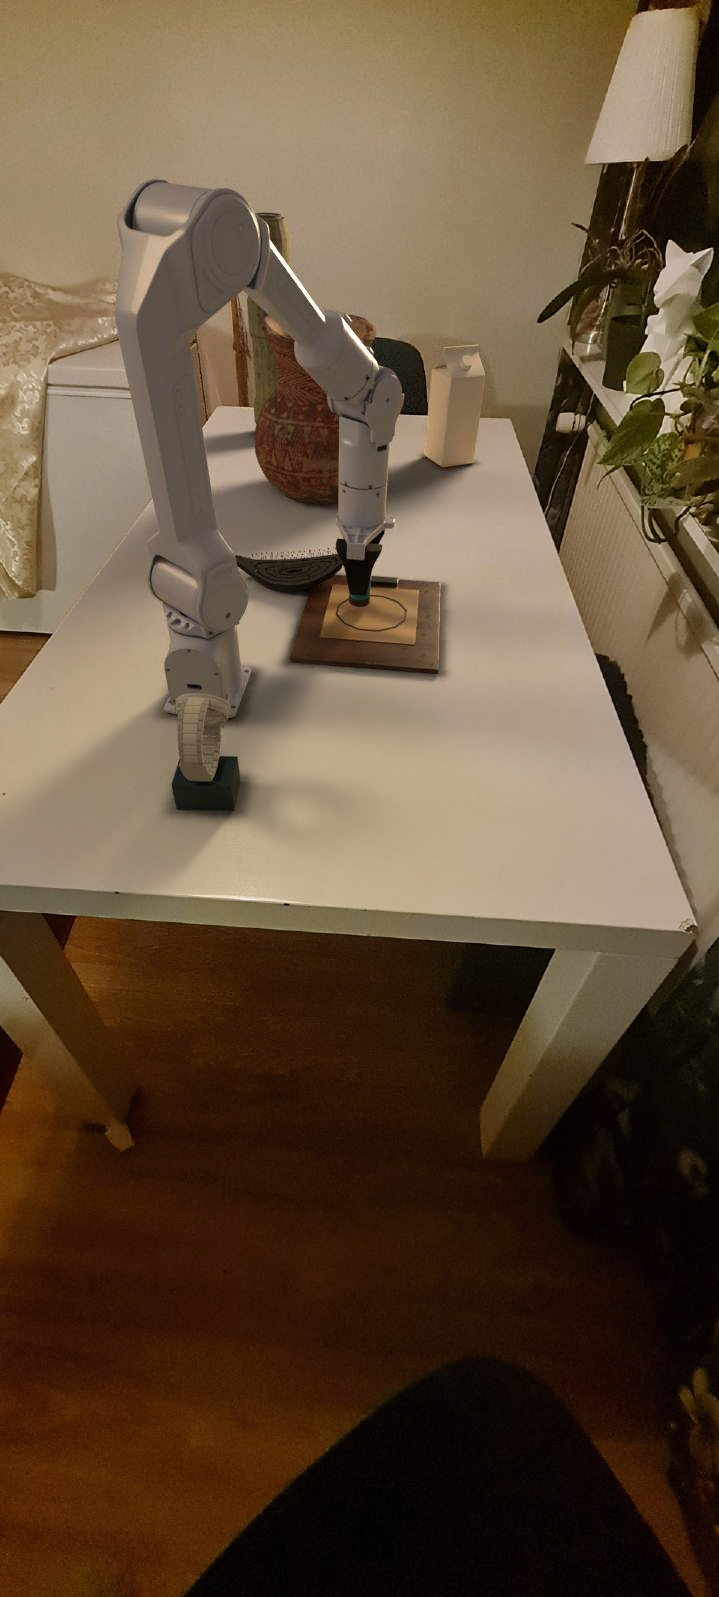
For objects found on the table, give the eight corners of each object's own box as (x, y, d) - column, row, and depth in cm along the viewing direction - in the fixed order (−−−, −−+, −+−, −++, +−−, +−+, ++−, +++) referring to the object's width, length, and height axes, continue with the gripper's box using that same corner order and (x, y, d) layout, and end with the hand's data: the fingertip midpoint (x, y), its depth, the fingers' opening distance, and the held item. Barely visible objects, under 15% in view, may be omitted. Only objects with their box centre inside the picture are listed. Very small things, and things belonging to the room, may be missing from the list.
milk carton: (423, 455, 138) (433, 342, 125) (455, 451, 141) (468, 340, 127) (441, 468, 134) (454, 352, 121) (473, 463, 136) (489, 349, 123)
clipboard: (437, 673, 85) (438, 665, 84) (289, 661, 86) (289, 653, 85) (440, 585, 100) (441, 578, 100) (314, 576, 101) (314, 568, 100)
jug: (367, 519, 116) (374, 342, 98) (243, 507, 118) (228, 331, 100) (384, 471, 132) (393, 311, 114) (275, 461, 134) (267, 302, 116)
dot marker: (369, 608, 92) (372, 557, 87) (346, 606, 92) (348, 555, 88) (371, 597, 94) (374, 546, 90) (349, 595, 95) (350, 544, 90)
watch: (243, 767, 72) (232, 676, 64) (231, 824, 66) (218, 732, 58) (187, 765, 72) (171, 674, 64) (171, 822, 66) (150, 730, 58)
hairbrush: (177, 538, 103) (347, 539, 99) (183, 562, 105) (349, 564, 102) (158, 564, 97) (338, 566, 93) (165, 589, 99) (340, 592, 96)
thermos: (302, 426, 149) (296, 211, 124) (296, 445, 140) (289, 218, 116) (260, 424, 149) (246, 208, 124) (251, 443, 140) (235, 216, 116)
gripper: (393, 507, 77) (386, 618, 87) (400, 460, 88) (393, 564, 97) (329, 502, 78) (329, 614, 87) (343, 457, 88) (342, 560, 97)
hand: (359, 587), depth 92 cm, fingers closed on dot marker, 3 cm apart
